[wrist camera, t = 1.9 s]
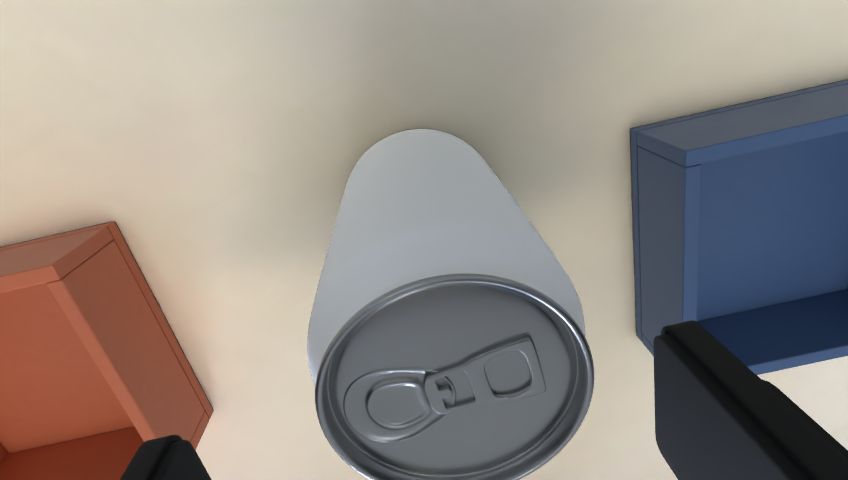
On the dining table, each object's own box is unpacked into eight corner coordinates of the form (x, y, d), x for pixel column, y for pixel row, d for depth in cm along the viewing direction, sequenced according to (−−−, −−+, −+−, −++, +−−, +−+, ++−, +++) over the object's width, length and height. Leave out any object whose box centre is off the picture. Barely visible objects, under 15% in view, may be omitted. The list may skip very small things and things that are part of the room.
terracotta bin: (-129, 276, 20) (-247, 332, 16) (115, 220, 20) (51, 264, 16) (13, 454, 24) (-55, 531, 21) (214, 410, 24) (182, 480, 20)
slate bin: (629, 128, 20) (685, 151, 16) (885, 70, 20) (1003, 79, 16) (636, 335, 24) (681, 391, 20) (845, 290, 24) (930, 338, 20)
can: (320, 156, 19) (230, 320, 8) (471, 103, 19) (586, 204, 8) (375, 286, 22) (363, 541, 11) (510, 243, 22) (636, 464, 11)
